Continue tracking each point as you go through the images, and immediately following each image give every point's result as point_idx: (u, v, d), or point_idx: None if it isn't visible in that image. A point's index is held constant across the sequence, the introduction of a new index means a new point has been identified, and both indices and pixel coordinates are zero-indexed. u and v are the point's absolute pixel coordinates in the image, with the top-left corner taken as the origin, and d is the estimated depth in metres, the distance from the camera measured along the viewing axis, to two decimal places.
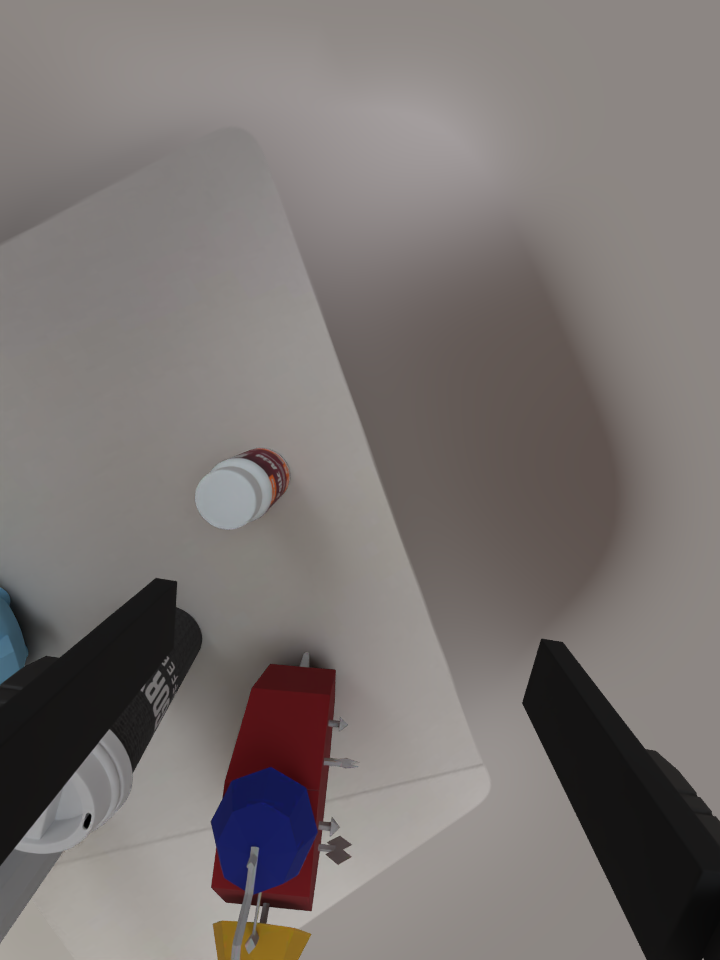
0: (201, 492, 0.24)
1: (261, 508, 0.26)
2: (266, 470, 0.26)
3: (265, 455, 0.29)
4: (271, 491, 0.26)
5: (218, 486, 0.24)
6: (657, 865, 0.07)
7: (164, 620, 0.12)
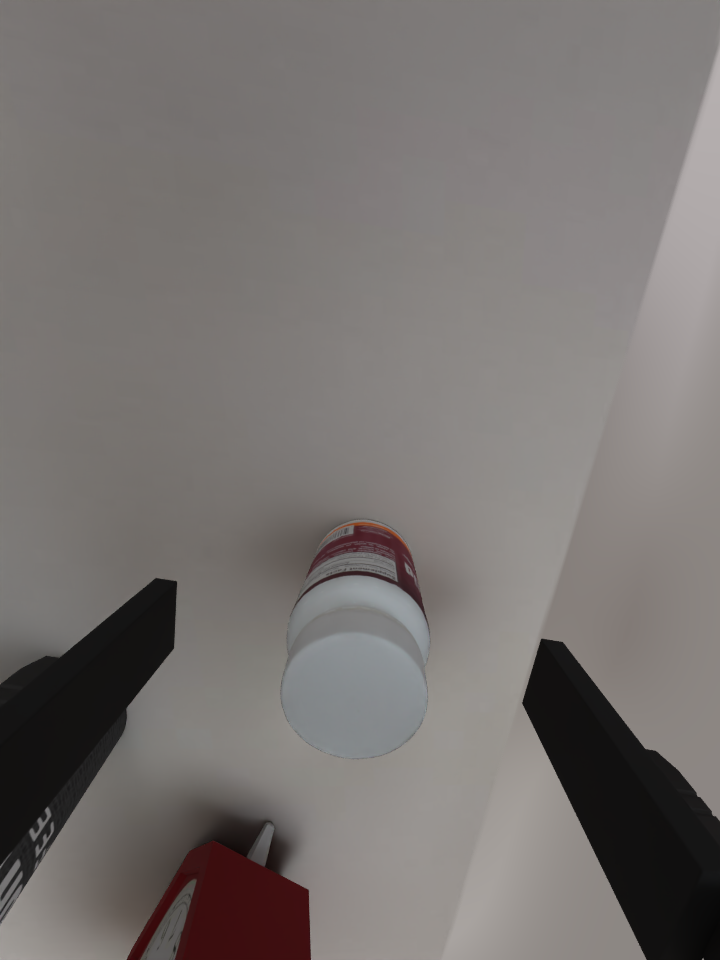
0: (312, 661, 0.10)
1: None
2: None
3: (410, 564, 0.15)
4: None
5: (357, 668, 0.10)
6: (657, 865, 0.07)
7: (164, 620, 0.12)
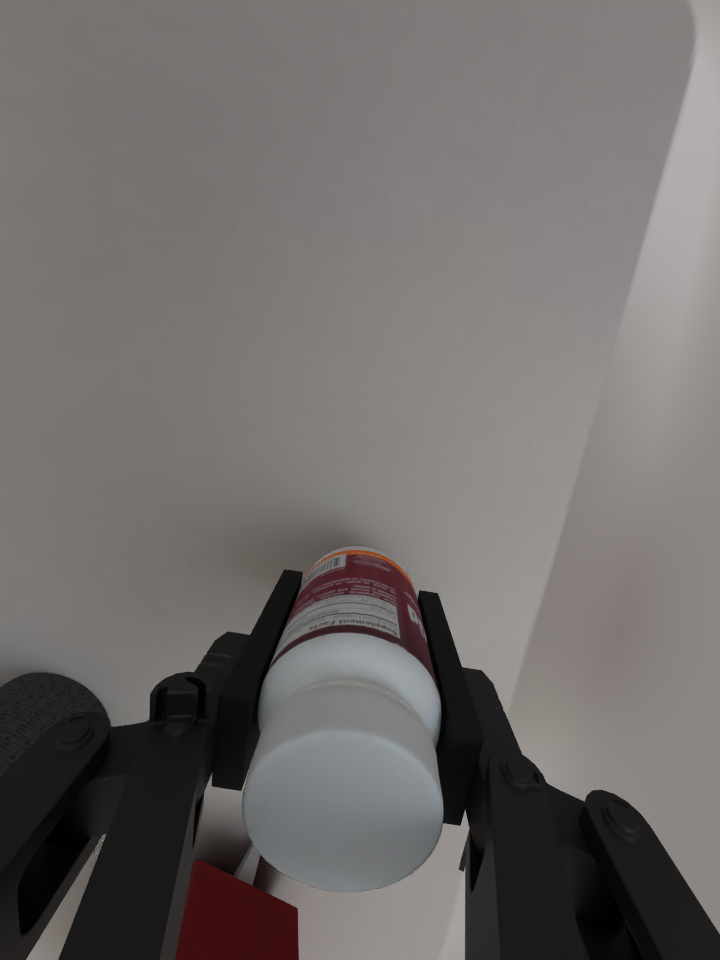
0: (285, 768, 0.07)
1: None
2: None
3: (413, 605, 0.12)
4: None
5: (346, 778, 0.07)
6: (439, 740, 0.09)
7: None
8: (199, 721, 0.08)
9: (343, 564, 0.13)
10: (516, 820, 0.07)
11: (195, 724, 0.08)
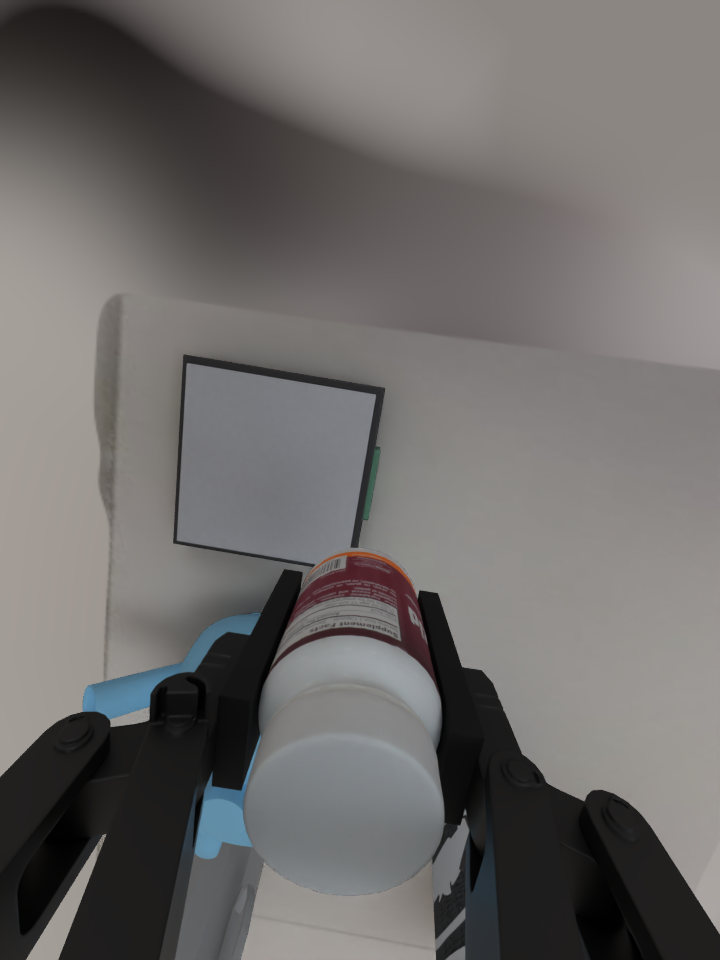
0: (285, 772, 0.07)
1: None
2: None
3: (414, 607, 0.12)
4: None
5: (347, 781, 0.07)
6: None
7: None
8: (199, 721, 0.08)
9: (344, 566, 0.13)
10: (516, 820, 0.07)
11: (195, 724, 0.08)
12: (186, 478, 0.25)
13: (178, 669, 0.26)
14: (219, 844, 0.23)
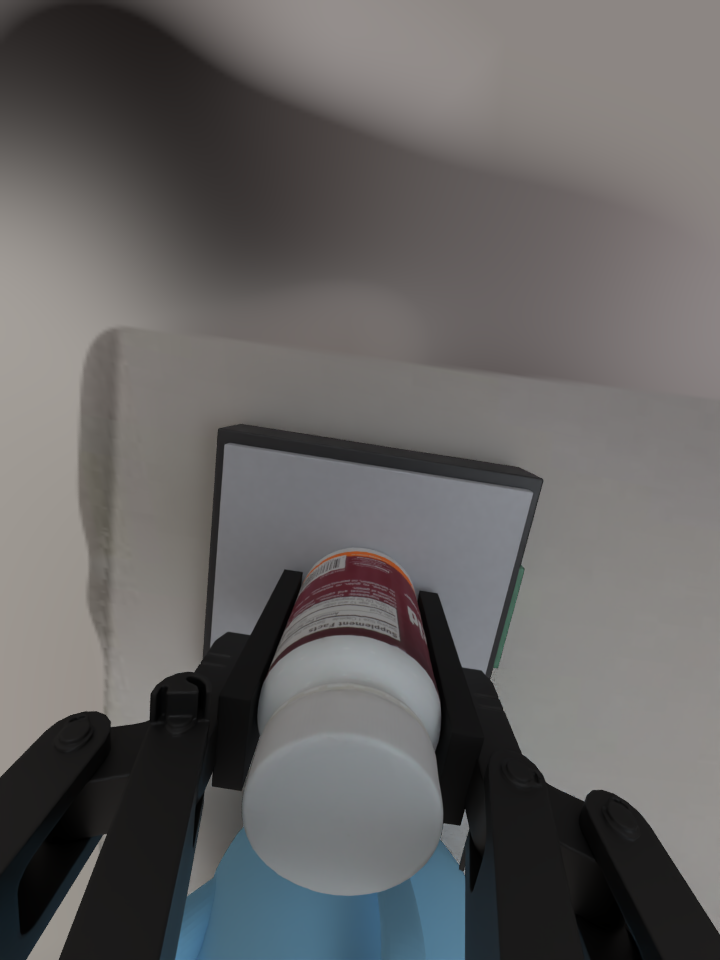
0: (284, 771, 0.07)
1: None
2: None
3: (413, 607, 0.12)
4: None
5: (346, 781, 0.07)
6: (439, 740, 0.09)
7: None
8: (199, 721, 0.08)
9: (343, 566, 0.13)
10: (516, 820, 0.07)
11: (195, 724, 0.08)
12: (222, 616, 0.16)
13: (210, 904, 0.17)
14: None
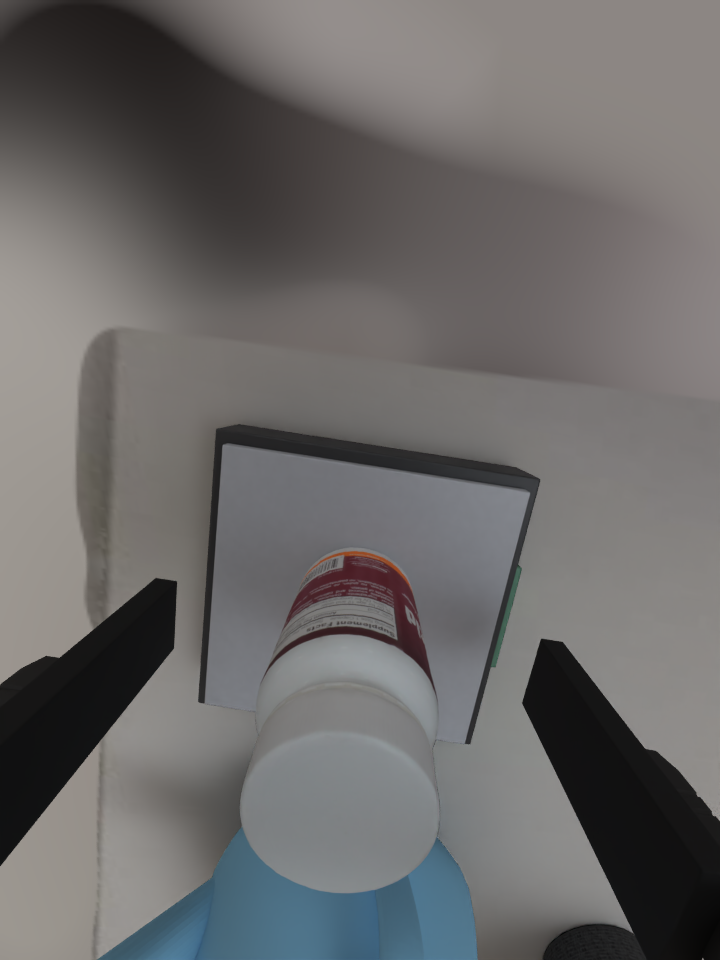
0: (282, 770, 0.07)
1: None
2: None
3: (411, 606, 0.12)
4: None
5: (344, 779, 0.07)
6: (657, 865, 0.07)
7: (164, 620, 0.12)
8: None
9: (341, 565, 0.13)
10: None
11: None
12: (220, 616, 0.16)
13: (209, 904, 0.17)
14: None
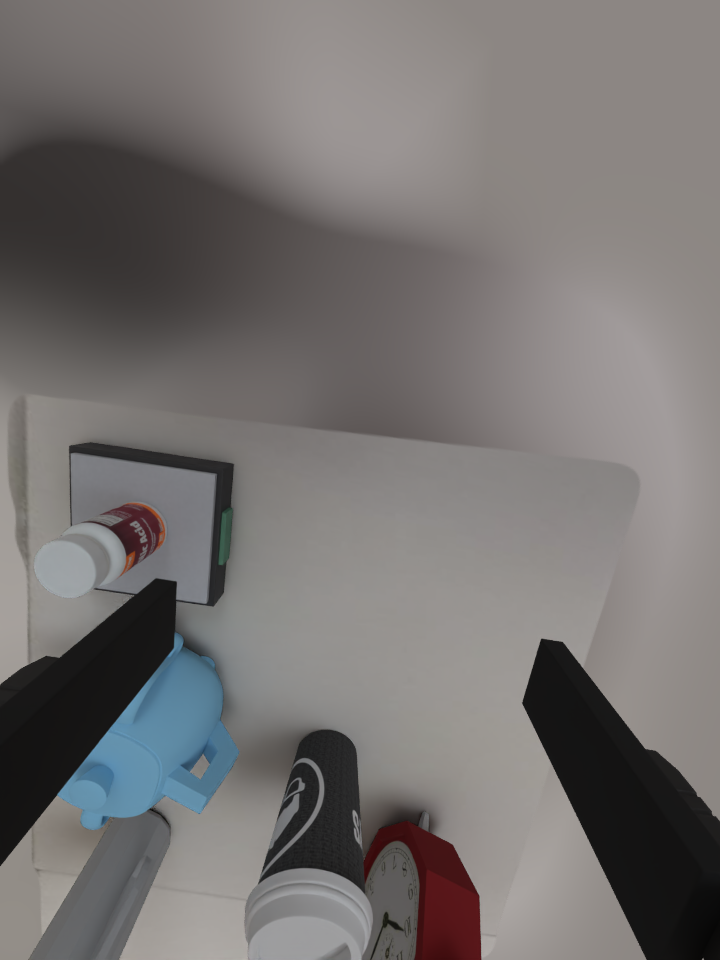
0: (44, 553, 0.23)
1: (103, 581, 0.26)
2: (129, 547, 0.27)
3: (143, 523, 0.29)
4: (121, 570, 0.26)
5: (63, 556, 0.24)
6: (657, 865, 0.07)
7: (164, 620, 0.12)
8: None
9: (118, 507, 0.30)
10: None
11: None
12: None
13: None
14: (100, 817, 0.30)
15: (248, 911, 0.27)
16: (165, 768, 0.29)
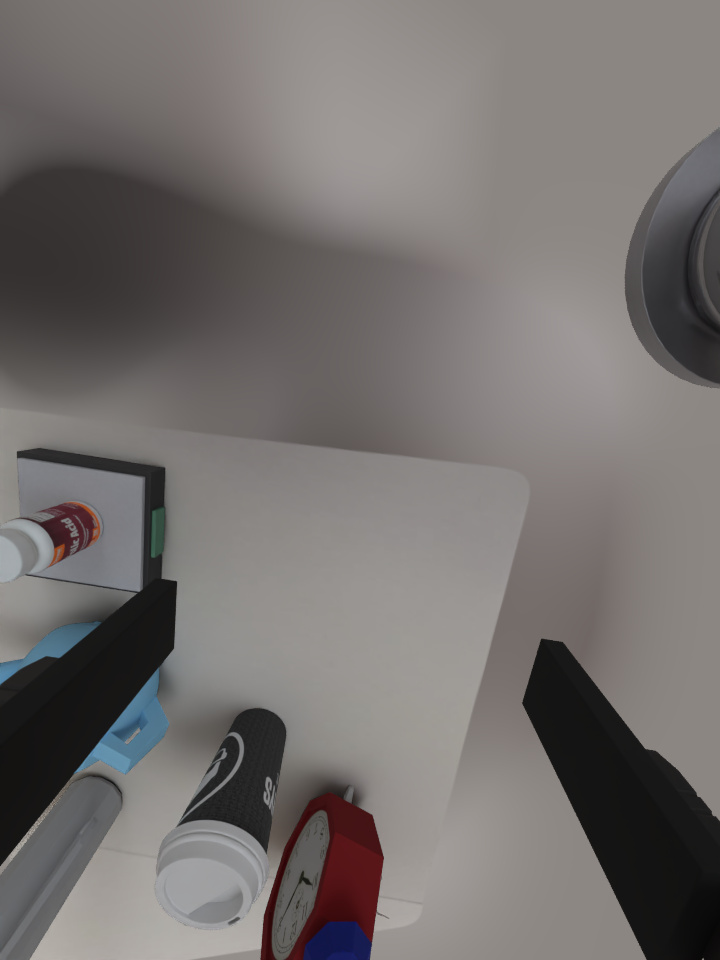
0: None
1: (34, 569, 0.30)
2: (58, 540, 0.31)
3: (75, 519, 0.33)
4: (50, 560, 0.30)
5: None
6: (657, 865, 0.07)
7: (164, 620, 0.12)
8: None
9: (56, 505, 0.34)
10: None
11: None
12: None
13: None
14: None
15: (159, 856, 0.31)
16: None
